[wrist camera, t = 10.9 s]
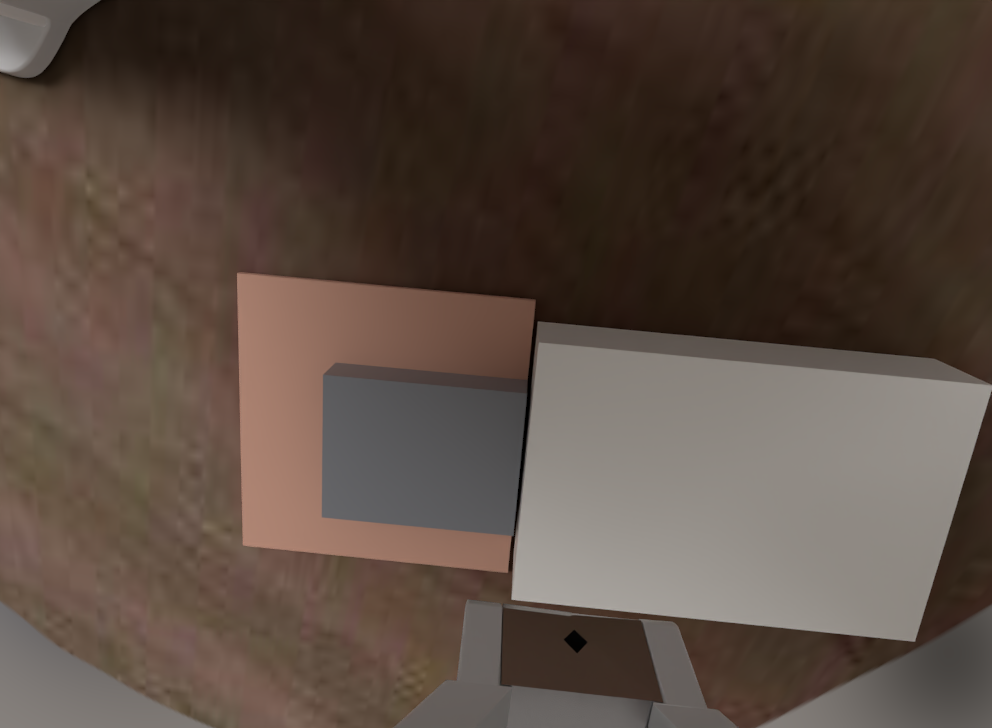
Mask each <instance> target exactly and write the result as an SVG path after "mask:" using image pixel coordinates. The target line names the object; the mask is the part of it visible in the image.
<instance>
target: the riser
mask: <svg viewBox="0 0 992 728" xmlns="http://www.w3.org/2000/svg"><path fill="white" fill-rule="evenodd" d="M991 391H992V385H991V384H989V383H987V382H984V381H982V380H980V379H978V378H976V377H973V376H971V375H969V374H967V373H965V372H962V371H960V370H958V369H956V368H954V367H952V366H949V365H947V364H945V363H943V362H941V361H938V360H936V359H932V358H922V357H911V356H901V355H890V354H879V353H869V352H858V351H847V350H837V349H826V348H816V347H805V346H794V345H784V344H773V343H762V342H752V341H741V340H730V339H720V338H709V337H699V336H688V335H677V334H667V333H656V332H645V331H635V330H624V329H614V328H603V327H592V326H582V325H571V324H560V323H550V322H539V321H538V324H537V333H536V343H535V353H534V362H533V372H532V381H531V391H530V400H529V410H528V419H527V429H526V438H525V448H524V457H523V467H522V477H521V486H520V496H519V505H518V515H517V524H516V534H515V543H514V555H513V577H512V600H519V601H529V602H539V603H548V604H558V605H567V606H577V607H587V608H596V609H606V610H615V611H625V612H635V613H644V614H654V615H663V616H673V617H683V618H692V619H702V620H711V621H721V622H731V623H740V624H750V625H759V626H769V627H779V628H788V629H798V630H807V631H817V632H827V633H836V634H846V635H855V636H865V637H875V638H884V639H894V640H903V641H913V642H915V640H916V636H917V633H918V630H919V627H920V623H921V620H922V617H923V613H924V610H925V607H926V604H927V600H928V597H929V594H930V591H931V587H932V584H933V581H934V577H935V574H936V571H937V568H938V564H939V561H940V558H941V554H942V551H943V548H944V545H945V541H946V538H947V535H948V532H949V528H950V525H951V522H952V518H953V515H954V512H955V509H956V505H957V502H958V499H959V496H960V492H961V489H962V486H963V482H964V479H965V476H966V473H967V469H968V466H969V463H970V459H971V456H972V453H973V450H974V446H975V443H976V440H977V437H978V433H979V430H980V427H981V423H982V420H983V417H984V414H985V410H986V407H987V404H988V401H989V397H990V394H991Z"/></svg>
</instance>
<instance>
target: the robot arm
mask: <svg viewBox="0 0 992 728" xmlns="http://www.w3.org/2000/svg"><path fill="white" fill-rule="evenodd" d="M99 1H100V0H0V72H2V73H6V74H9V75H13V76H16V77H21V78H31V77H35V76H37V75H39V74H40V73H42V72H43V71H44V70H45V69H46V68H47V66H48V65H49V64H50V63H51V61H52V59H53V58H54V56H55V55H56V53H57V51H58V49H59V47H60V46H61V44H62V42H63V40H64V38H65V36H66V34H67V32H68V30H69V28H70V26H71V24H72V23H73V22H74V21H75V20H76V19H77V18H78V17H79V16H80V15H81V14H82V13H84V12H85V11H86V10H87V9H89V8H90V7H92V6H93V5H95V4H96V3H97V2H99ZM394 728H738V727H737V726H736V725H735V724H733V723H732V722H731V721H730V720H729V719H728V718H727V717H726V716H724V715H723V714H722V713H721V712H720V711H719V710H715V709H707V706H706V704H705V701H704V698H703V695H702V692H701V690H700V687H699V684H698V681H697V678H696V676H695V673H694V670H693V667H692V664H691V662H690V659H689V656H688V653H687V650H686V648H685V645H684V642H683V639H682V636H681V634H680V631H679V628H678V626H677V625H676V624H675V623H674V622H669V621H657V620H644V619H639V620H632V619H622V618H612V617H603V616H593V615H583V614H573V613H571V612H563V611H556V610H548V609H541V608H533V607H526V606H518V605H511V604H503V605H501V603H494V602H485V601H477V600H467V603H466V606H465V614H464V623H463V632H462V640H461V649H460V657H459V666H458V674H457V681H453V680H446V681H444V682H443V683H442V684H441V685H440V686H439V687H438V688H437V689H436V690H434V691H433V692H432V693H431V694H430V695H429V696H428V697H427V698H426V699H425V700H423V701H422V702H421V703H420V704H419V705H418V706H417V707H416V708H415V709H413V710H412V711H411V712H410V713H409V714H408V715H407V716H406V717H405V718H404V719H402V720H401V721H400V722H399V723H398V724H397V725H396V726H395V727H394Z"/></svg>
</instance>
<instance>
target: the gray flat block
mask: <svg viewBox="0 0 992 728" xmlns="http://www.w3.org/2000/svg"><path fill="white" fill-rule="evenodd" d="M526 402H527V380H522V379H511V378H500V377H489V376H478V375H467V374H457V373H446V372H435V371H424V370H413V369H402V368H391V367H380V366H369V365H358V364H347V363H335V364H334V365H333V366H332V367H331V368H329V369H328V370H327V371H326V372H325V373H324V374H323V427H322V518H332V519H343V520H353V521H363V522H373V523H384V524H394V525H404V526H415V527H425V528H435V529H446V530H456V531H466V532H476V533H487V534H497V535H507V536H513V534H514V524H515V514H516V504H517V494H518V483H519V473H520V463H521V453H522V443H523V432H524V422H525V412H526Z"/></svg>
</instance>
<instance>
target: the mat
mask: <svg viewBox="0 0 992 728" xmlns="http://www.w3.org/2000/svg"><path fill="white" fill-rule="evenodd" d="M237 294H238V340H239V386H240V432H241V478H242V524H243V546H252V547H262V548H272V549H281V550H291V551H301V552H310V553H320V554H330V555H339V556H349V557H359V558H368V559H378V560H388V561H398V562H407V563H417V564H427V565H436V566H446V567H456V568H465V569H475V570H485V571H494V572H504V573H508V565H509V555H510V546H511V536H507V535H497V534H487V533H476V532H466V531H456V530H446V529H435V528H425V527H415V526H404V525H394V524H384V523H373V522H363V521H353V520H343V519H332V518H322V427H323V374H324V373H325V372H326V371H327V370H328V369H329V368H331V367H332V366H333V365H334V364H335V363H347V364H358V365H369V366H380V367H391V368H402V369H413V370H424V371H435V372H446V373H457V374H467V375H478V376H489V377H500V378H511V379H522V380H527V381H528V371H529V361H530V352H531V342H532V332H533V322H534V313H535V303H536V300H535V299H525V298H514V297H503V296H493V295H482V294H471V293H460V292H450V291H439V290H428V289H418V288H407V287H396V286H385V285H375V284H364V283H353V282H342V281H332V280H321V279H310V278H300V277H289V276H278V275H267V274H257V273H246V272H239V273H237Z"/></svg>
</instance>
